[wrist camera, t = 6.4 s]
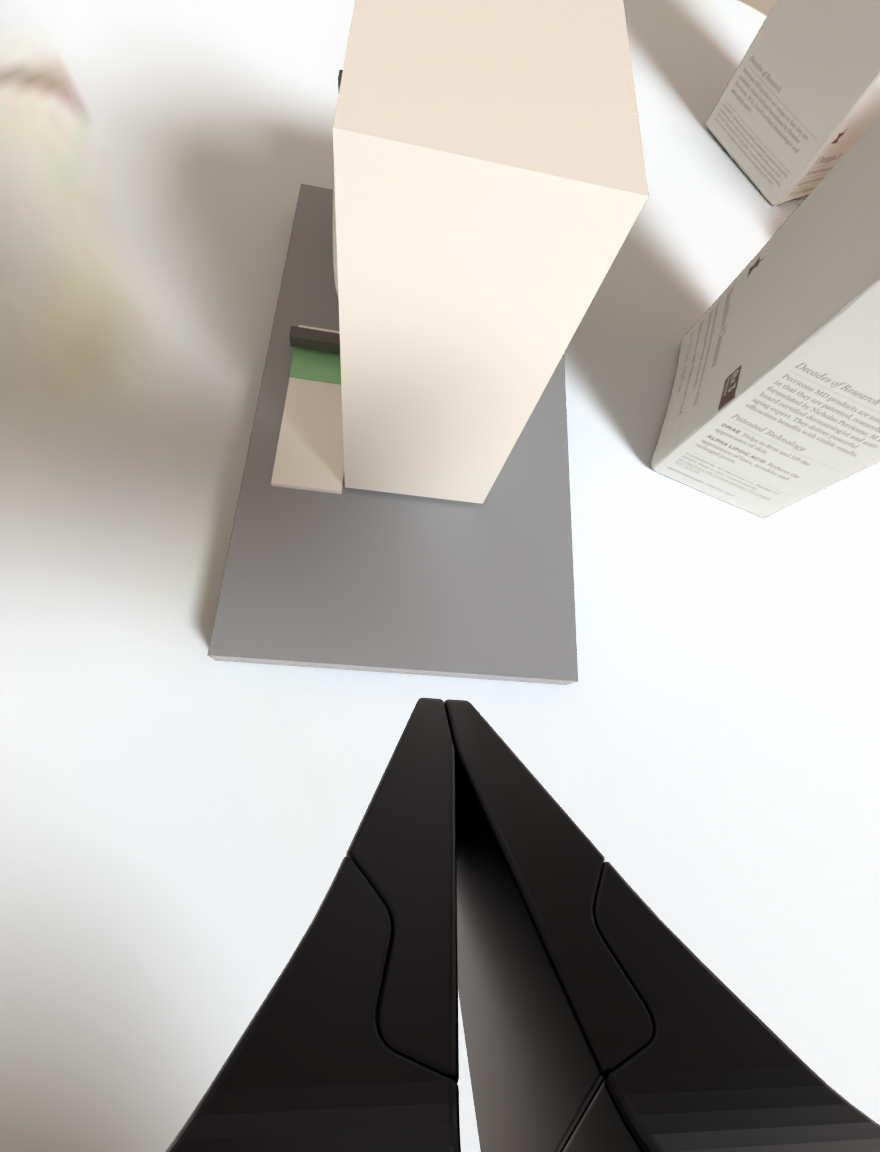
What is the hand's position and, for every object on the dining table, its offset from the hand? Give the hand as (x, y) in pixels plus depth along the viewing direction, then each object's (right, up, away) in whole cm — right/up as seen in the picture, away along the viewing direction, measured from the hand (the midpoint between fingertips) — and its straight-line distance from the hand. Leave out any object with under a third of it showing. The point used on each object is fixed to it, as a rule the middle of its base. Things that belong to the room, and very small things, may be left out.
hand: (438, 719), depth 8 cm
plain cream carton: (-2, +10, +11) cm, 15 cm away
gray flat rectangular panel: (-1, +9, +12) cm, 15 cm away
